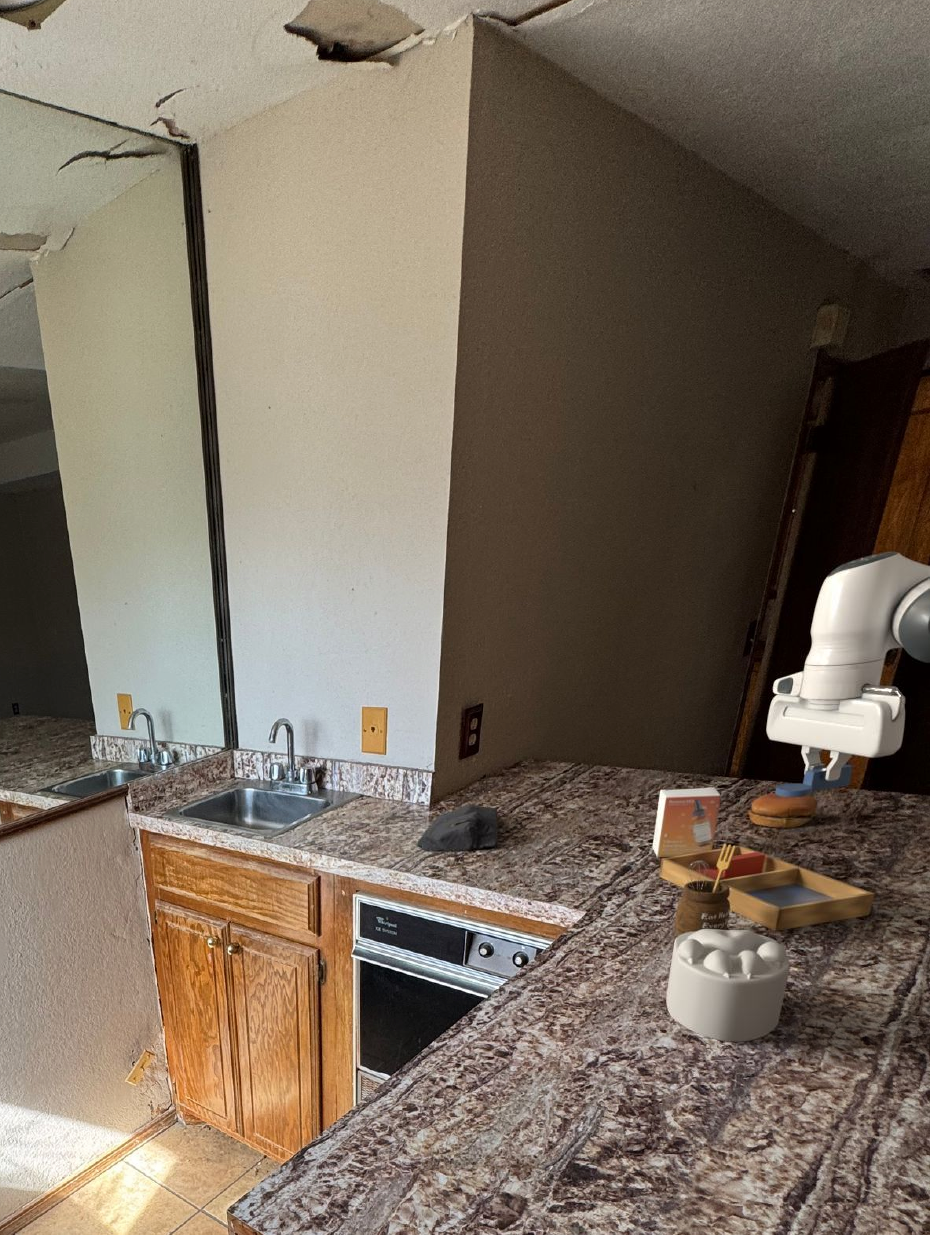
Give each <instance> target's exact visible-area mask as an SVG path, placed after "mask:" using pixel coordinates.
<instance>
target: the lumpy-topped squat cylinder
mask: <svg viewBox="0 0 930 1235" xmlns="http://www.w3.org/2000/svg"><path fill="white" fill-rule="evenodd" d="M670 963H671V964H670V970H669V976H668V982H667V983H668V984H667V990H666V999H665V1000H666V1009H667V1011H668V1014H669V1015H670V1017H671V1018H672V1019H673V1020H674V1021H676V1022H677V1023H679V1024H680V1025H682V1026H683V1027H685V1028H686V1029H688V1030H690V1031H691V1032H694V1033H696V1034H698V1035H701V1036H704V1037H707V1038H709V1039H710V1038H711V1039H714V1040H717V1041H723V1042H733V1043H734V1042H735V1043H737V1042H741V1043H742V1042H747V1041H753V1040H757V1039H760V1038H763V1037H765V1036H766V1035H768V1034H770V1033H771V1032H773V1030H774V1029H775V1028H776V1027H777V1026H778V1024H779V1020H780V1015H781V1011H782V1007H783V1002H784V997H785V993H786V988H787V984H788V979H789V975H790V968H791V964H790V959H789V956H788V954H787V950H786V948H785V947H784V946H783V944H781V943H779V942H778V941H776V940H775V939H774V938H771V937H768V936H765V935H762V934H757V933H756V932H754V931H753V930H748V929H729V930H728V929H726V930H717V929H702V930H699V931H697V932H688V933H684V934H682V935H680V936H677V937H676V938H675V939H674V943H673V949H672V956H671V962H670Z"/></svg>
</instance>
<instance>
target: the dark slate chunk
mask: <svg viewBox="0 0 930 1235" xmlns="http://www.w3.org/2000/svg"><path fill="white" fill-rule="evenodd" d="M498 815H499V813H498V810H497V808H495V807H486V806H480V805H476V804H469V805H466V806H462V807H459V808H457V809H454V810H451V811H448V812H444V813H441V814H439V815H438V816H436V818H435V819H434V820H433V821H432V823H431V824H430V826H429V827H427V828H426V829H425V830H424V832H423V834H422V835H421V837H420V838H419V839H418V841H417V843H416V845H415V846H416V847H418V848H420V849H422V851H424V852H426V851H430V852H437V851H444V852H468V851H473V850H482V849H486V848H489V849H490V848H493V847H495V846H497V844H498V840H499V827H500V826H499V824H500V823H499V820H498Z"/></svg>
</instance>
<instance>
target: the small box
mask: <svg viewBox="0 0 930 1235" xmlns="http://www.w3.org/2000/svg"><path fill="white" fill-rule="evenodd" d="M721 799H722V795H721V794H720V792H719V791H718V790H717V789H716V787H714V786H711V787H710V786H709V787H700V788H681V789H680V788H679V789H660V791H659V797H658V804H657V812H656V821H655V826H654V834H653V841H652V849H653V851H654V853H655V856H656V858H669V857H675V856H680V855H686V854H692V853H698V852H704V851H710V850H713V847H714V842H715V836H716V829H717V824H718V819H719V818H718V817H719V812H720V806H721V801H722V800H721Z"/></svg>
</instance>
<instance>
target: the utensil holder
mask: <svg viewBox="0 0 930 1235" xmlns="http://www.w3.org/2000/svg"><path fill="white" fill-rule="evenodd" d="M736 846H737V845H733V846H732V844H728V845H727V843H724V844H723V846H722V848H723V849H722V848H721V849H722V852H721V854H720V857H719V860H718V863H717V867H718V868H719V869H720V871H719V874H718V877H717V880H716V881H707V870H706V880H701V881H700V868H699V881H693V882H689V881H688V883H687V884H685V886H684V888H682V891H681V894H682V896H681V897H680V898H679V900H678V903H677V907H676V912H675V919H674V934H675V935H676V936H677V937H678V936H680V935H682V934H684V933H688V932H697V931H699V930H702V929H717V930H728V923H729V918H730V911H731V910H730V902H729V900H728V899H727V898H728V897H729V895H730V890H729V887H728V886H727V885H726V884H724V883H721V882H719V881H720V879H721V876H722V873H723V871H724V870H726V869H728V868H729V867H730V864H731V860H732V857H733V854H734V851H735V848H736ZM731 847H733V848H732V851H731V854H730V857H729V859H728V862H727V858H728V855H729V851H730V848H731ZM726 848H728V849H727V851H726V854H725V857H724V860H723V861H722V858H723V855H724V852H725V849H726ZM695 862H698V863H699V862H700V863H701V862H702V861H694V863H695ZM704 863H705V862H704ZM692 864H693V862H692V863H691V865H692ZM702 864H703V863H702ZM691 865H690V866H689V867H691ZM703 865H704V867H705V864H703ZM694 866H695V865H694ZM705 868H706V867H705ZM688 869H689V868H688ZM692 870H693V869H692ZM708 870H709V867H708ZM704 877H705V874H704ZM708 879H709V876H708ZM690 880H691V881H692V877H691V878H690Z"/></svg>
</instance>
